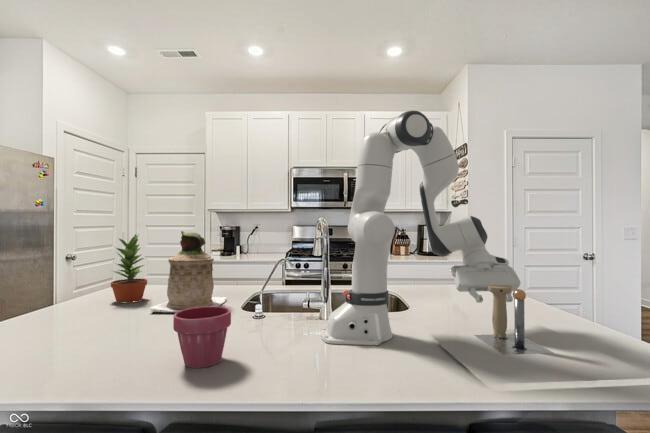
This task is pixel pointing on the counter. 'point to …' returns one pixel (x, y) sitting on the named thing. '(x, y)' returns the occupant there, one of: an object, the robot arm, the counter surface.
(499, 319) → the handle
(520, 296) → the lever with round knob
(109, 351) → the counter surface
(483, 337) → the plate
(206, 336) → the plant pot
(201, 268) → the cookie jar
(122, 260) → the potted plant
